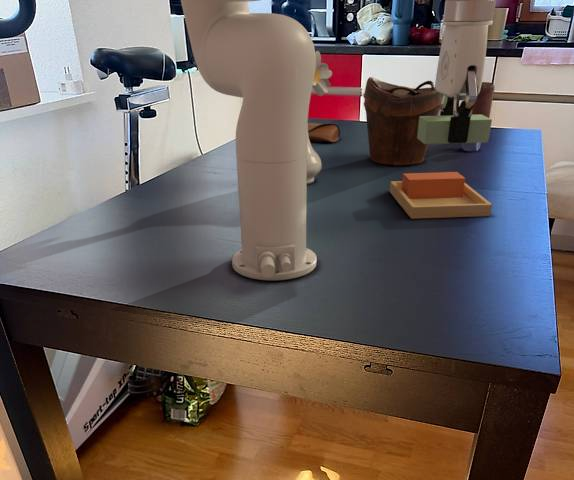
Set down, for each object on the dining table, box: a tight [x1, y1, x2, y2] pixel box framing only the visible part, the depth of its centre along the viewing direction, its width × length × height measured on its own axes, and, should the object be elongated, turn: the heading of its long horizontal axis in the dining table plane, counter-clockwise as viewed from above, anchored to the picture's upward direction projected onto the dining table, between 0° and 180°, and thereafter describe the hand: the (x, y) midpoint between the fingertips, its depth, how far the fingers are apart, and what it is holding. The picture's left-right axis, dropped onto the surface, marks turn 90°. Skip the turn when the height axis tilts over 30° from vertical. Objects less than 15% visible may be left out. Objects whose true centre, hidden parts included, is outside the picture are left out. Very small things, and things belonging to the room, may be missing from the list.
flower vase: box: [307, 50, 333, 185], centre depth 119 cm, size 13×18×25 cm
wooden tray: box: [389, 180, 493, 220], centre depth 110 cm, size 18×15×2 cm
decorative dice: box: [460, 143, 482, 153], centre depth 148 cm, size 4×4×4 cm
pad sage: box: [417, 115, 493, 145], centre depth 98 cm, size 5×11×4 cm, turn 94°
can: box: [472, 81, 495, 119], centre depth 158 cm, size 6×6×14 cm
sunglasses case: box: [308, 122, 341, 144], centre depth 163 cm, size 18×7×7 cm
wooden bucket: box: [363, 76, 442, 167], centre depth 136 cm, size 18×20×18 cm
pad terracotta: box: [401, 171, 466, 199], centre depth 113 cm, size 5×11×4 cm, turn 94°
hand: (452, 137), depth 99 cm, fingers closed on pad sage, 5 cm apart
